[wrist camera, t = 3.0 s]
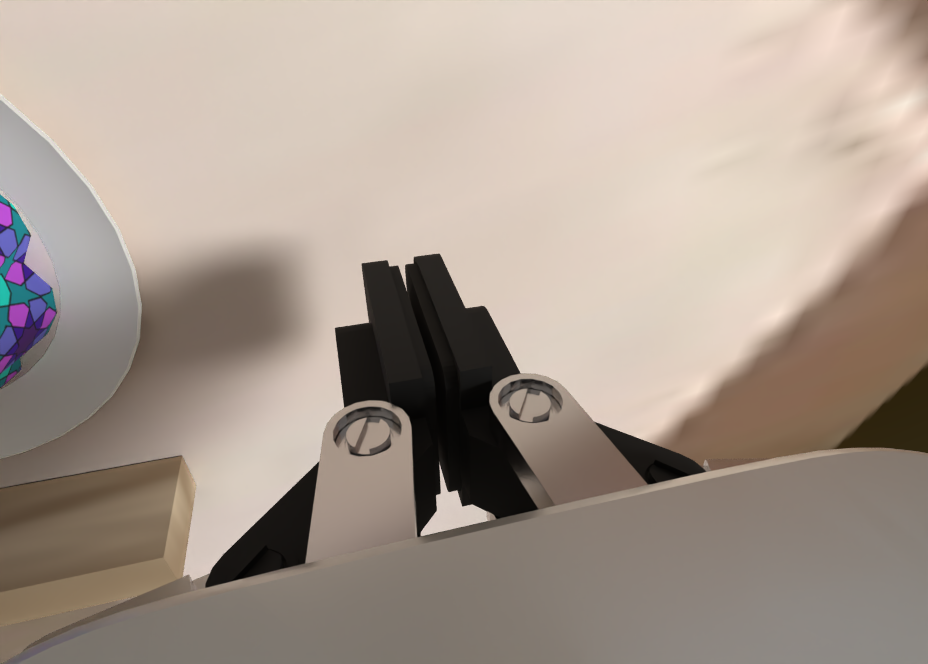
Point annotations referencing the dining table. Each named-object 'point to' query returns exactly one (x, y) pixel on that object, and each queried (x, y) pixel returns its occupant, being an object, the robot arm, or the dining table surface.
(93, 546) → the pair of beige bars
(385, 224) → the dining table surface
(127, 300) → the pudding
